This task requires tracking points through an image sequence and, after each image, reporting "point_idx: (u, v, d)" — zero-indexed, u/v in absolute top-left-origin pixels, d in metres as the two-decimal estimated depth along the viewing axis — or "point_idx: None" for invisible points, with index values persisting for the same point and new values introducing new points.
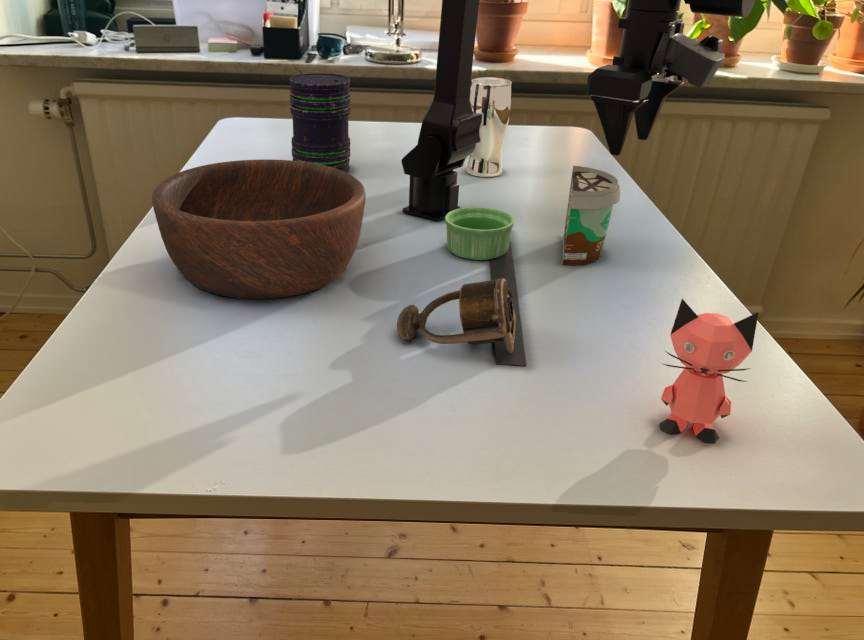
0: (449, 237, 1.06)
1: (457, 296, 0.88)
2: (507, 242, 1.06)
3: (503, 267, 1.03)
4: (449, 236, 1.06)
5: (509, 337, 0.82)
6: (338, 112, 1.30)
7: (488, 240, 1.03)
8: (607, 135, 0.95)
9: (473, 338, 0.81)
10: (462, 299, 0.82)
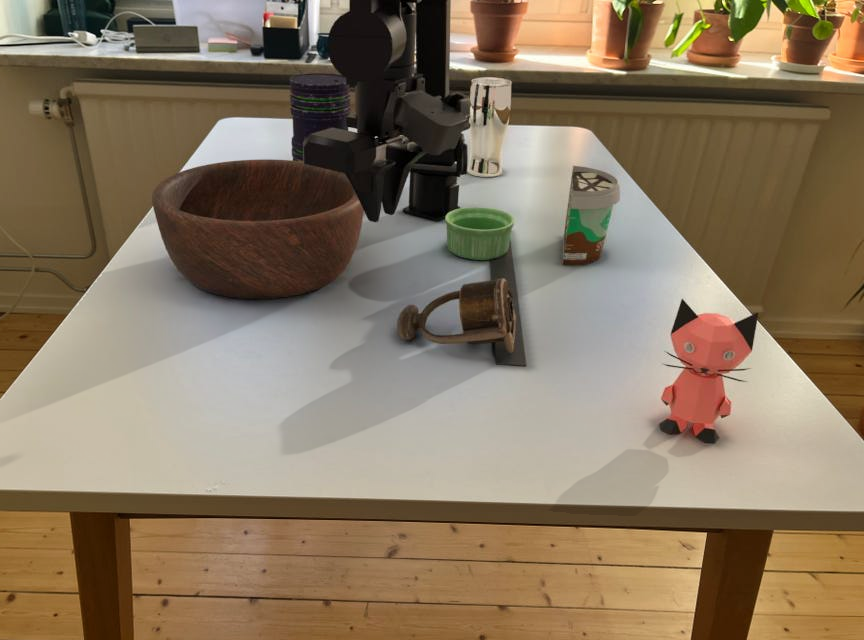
0: (449, 237, 1.06)
1: (457, 296, 0.88)
2: (507, 242, 1.06)
3: (503, 267, 1.03)
4: (449, 236, 1.06)
5: (509, 337, 0.82)
6: (338, 112, 1.30)
7: (488, 240, 1.03)
8: (361, 200, 0.84)
9: (473, 338, 0.81)
10: (462, 299, 0.82)
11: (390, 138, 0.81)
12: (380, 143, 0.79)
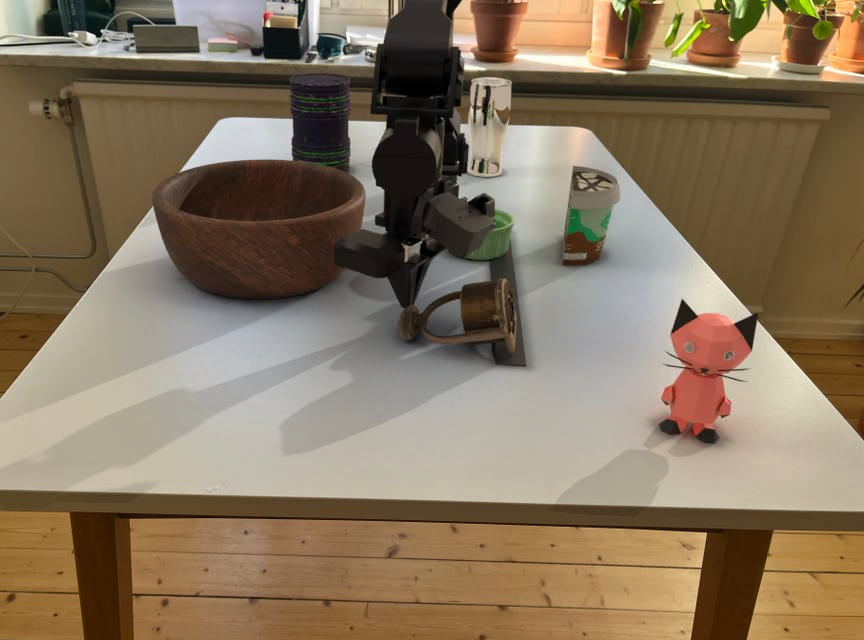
0: None
1: (458, 296, 0.87)
2: (507, 242, 1.06)
3: (503, 267, 1.03)
4: None
5: (510, 337, 0.82)
6: (338, 112, 1.30)
7: (488, 240, 1.03)
8: (394, 289, 0.88)
9: (474, 338, 0.81)
10: (463, 299, 0.82)
11: None
12: (415, 240, 0.82)
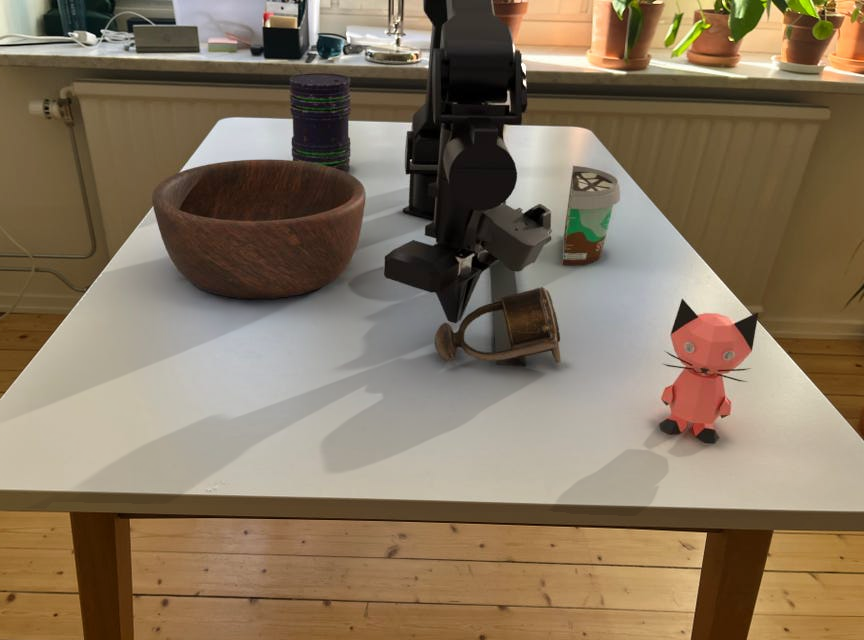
0: None
1: (489, 309, 0.85)
2: None
3: (503, 267, 1.03)
4: None
5: (558, 346, 0.80)
6: (338, 112, 1.30)
7: None
8: (442, 302, 0.84)
9: (525, 352, 0.79)
10: (508, 313, 0.79)
11: None
12: (467, 253, 0.79)
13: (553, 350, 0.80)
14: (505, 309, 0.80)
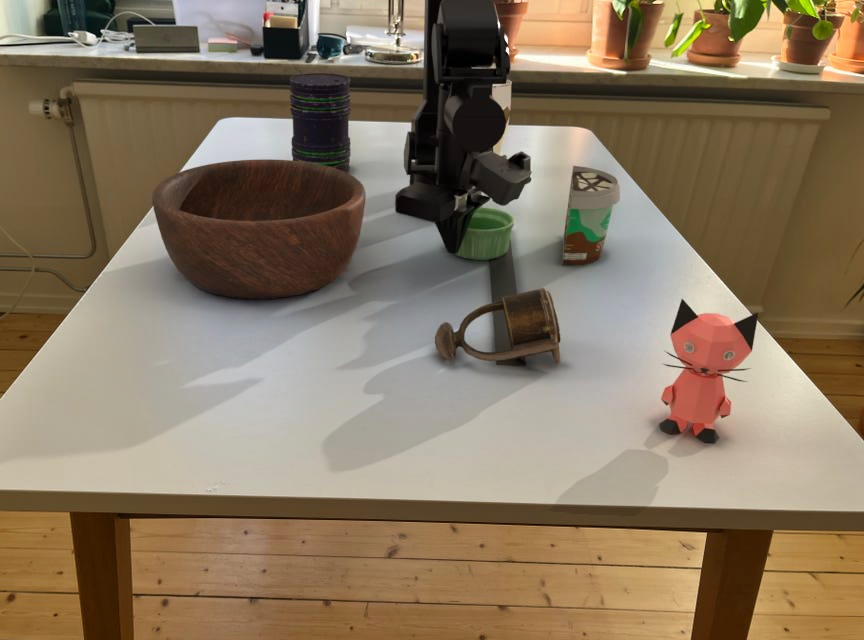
0: None
1: (490, 309, 0.85)
2: (507, 242, 1.06)
3: (503, 267, 1.03)
4: None
5: (558, 347, 0.80)
6: (338, 112, 1.30)
7: (488, 240, 1.03)
8: (442, 236, 1.02)
9: (525, 352, 0.79)
10: (509, 313, 0.79)
11: None
12: (463, 192, 0.97)
13: (553, 351, 0.80)
14: (506, 309, 0.80)
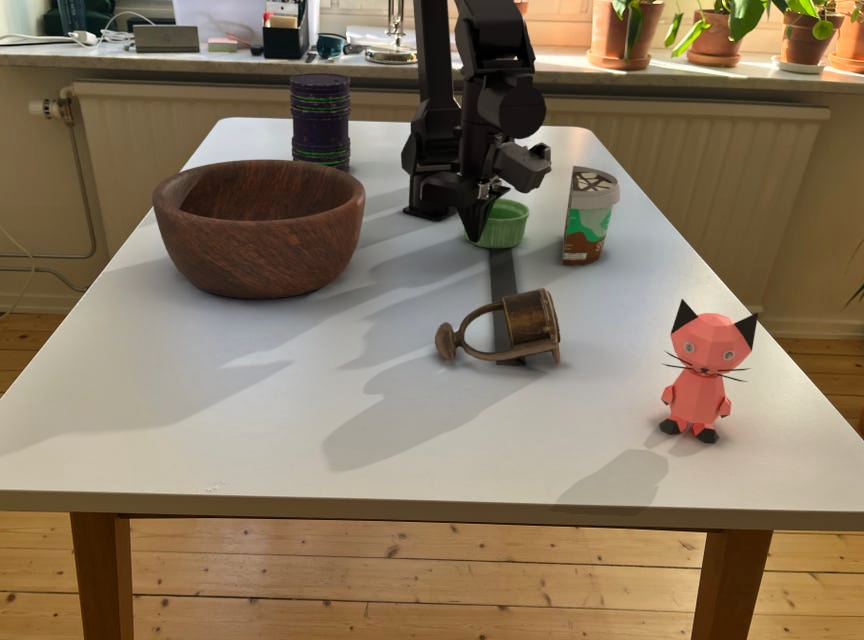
0: None
1: (490, 309, 0.85)
2: (523, 231, 1.10)
3: (503, 267, 1.03)
4: None
5: (558, 347, 0.80)
6: (338, 112, 1.30)
7: (507, 229, 1.07)
8: (465, 225, 1.05)
9: (525, 352, 0.79)
10: (509, 313, 0.79)
11: None
12: (485, 181, 1.00)
13: (553, 351, 0.80)
14: (506, 309, 0.80)
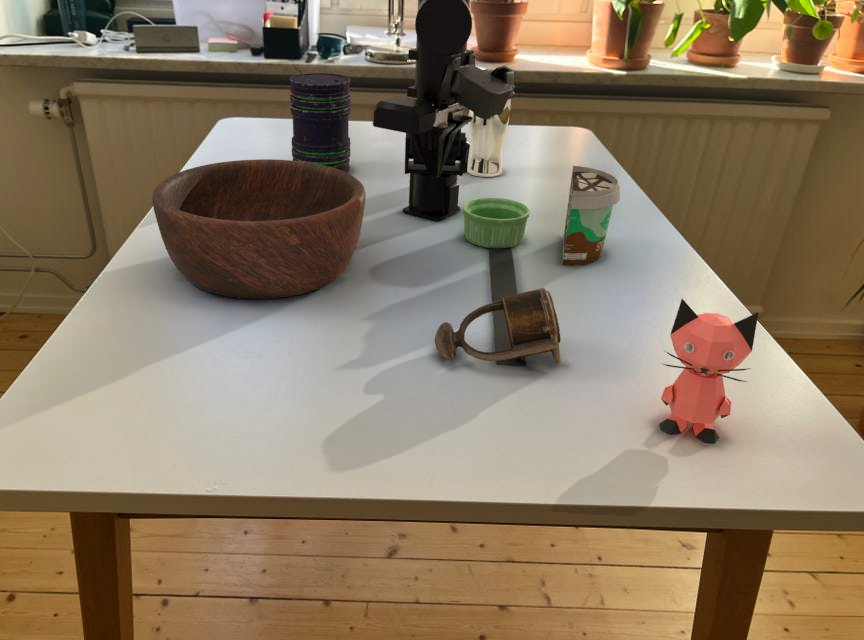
0: (468, 227, 1.09)
1: (490, 309, 0.85)
2: (523, 231, 1.10)
3: (503, 267, 1.03)
4: (467, 225, 1.09)
5: (558, 347, 0.80)
6: (338, 112, 1.30)
7: (507, 229, 1.07)
8: (423, 158, 0.98)
9: (525, 352, 0.79)
10: (509, 313, 0.79)
11: (451, 104, 0.95)
12: (443, 108, 0.93)
13: (553, 351, 0.80)
14: (506, 309, 0.80)
